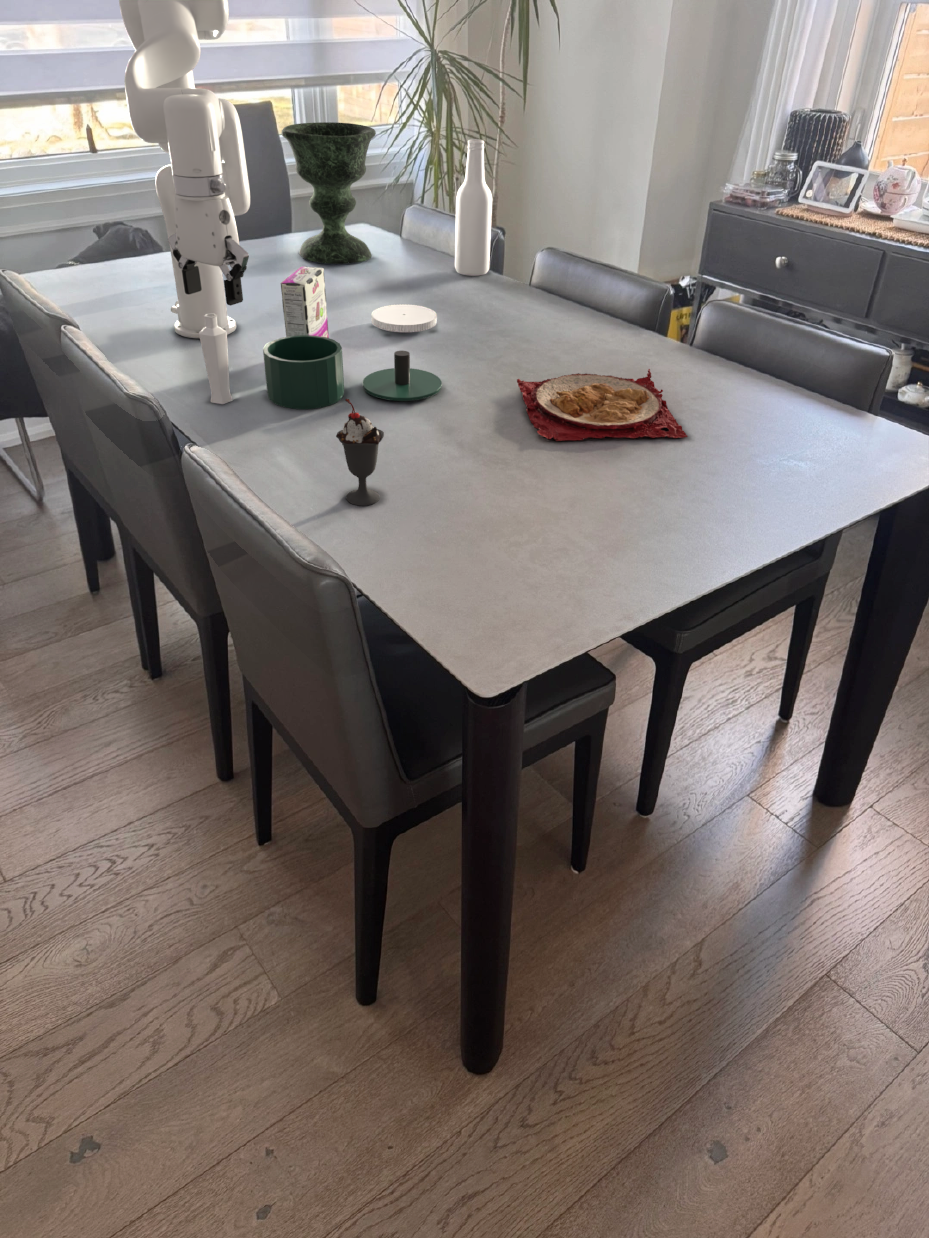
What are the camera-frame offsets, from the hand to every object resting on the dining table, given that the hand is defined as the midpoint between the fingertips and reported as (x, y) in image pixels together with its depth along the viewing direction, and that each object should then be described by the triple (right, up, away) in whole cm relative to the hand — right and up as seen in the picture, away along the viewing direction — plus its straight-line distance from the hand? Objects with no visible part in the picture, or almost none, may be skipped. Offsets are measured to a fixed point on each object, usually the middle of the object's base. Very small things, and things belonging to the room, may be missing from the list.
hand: (214, 298), depth 153 cm
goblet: (+8, +42, +89) cm, 99 cm away
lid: (+30, -10, +17) cm, 36 cm away
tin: (+13, -13, +14) cm, 23 cm away
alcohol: (+44, +35, +81) cm, 99 cm away
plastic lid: (+29, +10, +45) cm, 55 cm away
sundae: (+27, -36, -17) cm, 48 cm away
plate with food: (+66, -17, +11) cm, 69 cm away
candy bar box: (+11, -3, +27) cm, 30 cm away
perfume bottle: (-1, -15, +11) cm, 18 cm away
